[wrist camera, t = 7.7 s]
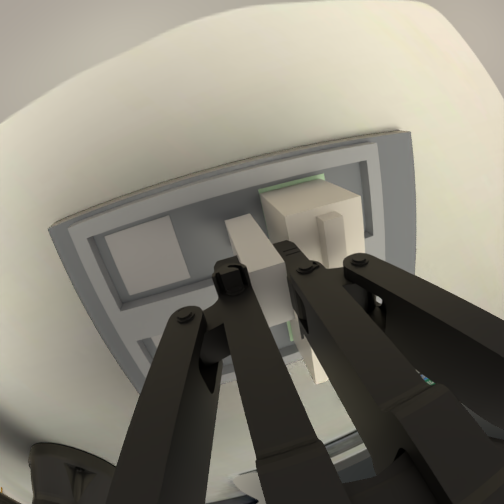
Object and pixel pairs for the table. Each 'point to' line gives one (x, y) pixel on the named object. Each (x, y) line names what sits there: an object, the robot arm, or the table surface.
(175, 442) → the robot arm
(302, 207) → the tab
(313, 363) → the tab
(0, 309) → the table surface
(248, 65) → the table surface
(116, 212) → the switch board
